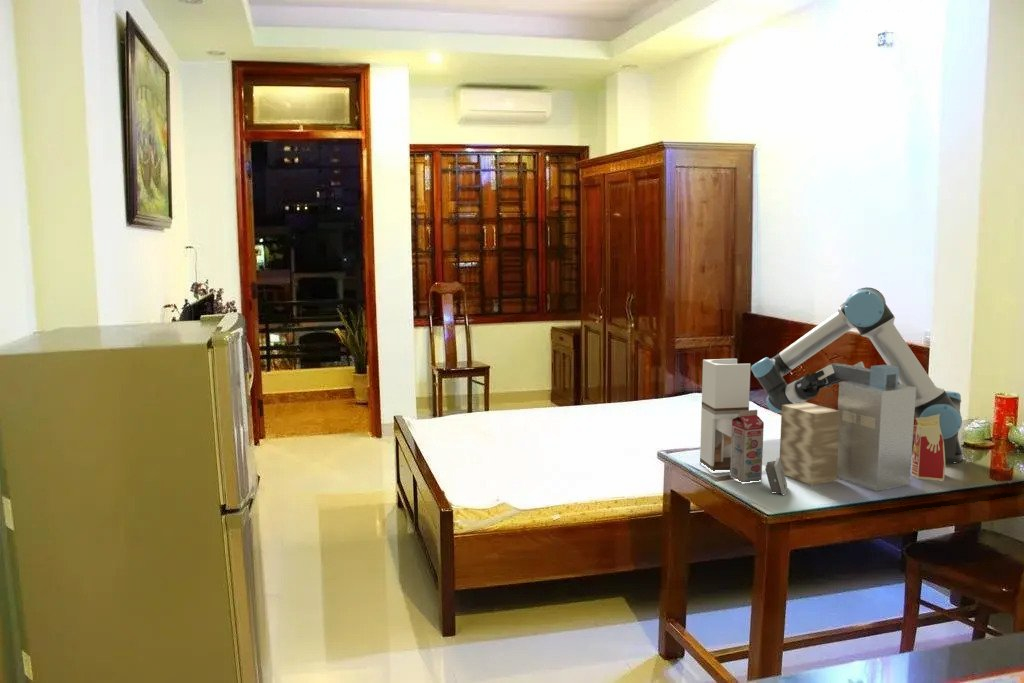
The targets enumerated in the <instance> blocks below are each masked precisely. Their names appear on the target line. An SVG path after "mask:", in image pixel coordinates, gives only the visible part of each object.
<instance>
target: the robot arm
mask: <svg viewBox="0 0 1024 683" xmlns="http://www.w3.org/2000/svg"><path fill="white" fill-rule="evenodd" d="M895 318H896V317H895V315H894V314H893V313H892V311H891V309H890V308H889V307H888V305H887V304H886V298H885V296H884V295H883V293H882V292H880V291H879V290H877V288H873V287H861V288H858V289H857V290H855V291H853V292H852V293H851V294H849V295H848V297H847V298H846V300H845V302H843V303H842V304H841V305H839V306H838V310H837V311H836V312H835V313H833V314H832V315H831V316H829V317H827V318H826V319H824V320H823V321H822V322H820V323H819V324H817V325H816V326H815V327H814V328H812V329H811V330H809V331H808V332H807V333H805V334H804V335H803V336H801V337H800V338H798V339H797V340H795V341H794V342H793V343H791V344H790V345H789V346H786V347H785V348H784V349H783V350H782V351H780V352H779V353H777V354H775V356H773V357H771V358H769V357H767V356H766V357H764V358H762V359H760V360H759V361H757V362H755V363H754V364H752V365H750V371H751V372H752V373H753V376H754V378H756V379H757V381H758V382H759V384H760V385H761V387H762V388H763V390H764V391H765V393H766V394H767V396H766V400H765V401H766V406H767V408H768V409H769V410H770V411H771V412H773V413H775V414H782V405H786V404H795V403H803V402H808V400H811V399H813V398H815V397H817V396H818V395H819V392H820V390H822V389H824V388H825V387H827V388H829V387H832V386H833V385H836V384H839V382H846V380H844V379H839V378H834V377H829V375H831V374H833V373H835V372H834V370H833V367H832V365H829V364H828V365H827V366H825V367H823V368H821V369H819V370H818V371H815V372H812V373H811V374H810V373H806V374H804V376H802V377H799V378H798V379H796V380H794V381H792V382H790V383H787V382H786V380H785V379H784V376H786V375H787V374H789V373H791V371H793V370H794V369H796V368H797V367H798V366H800V365H801V364H803V363H804V362H806V361H807V360H808V359H810V358H811V357H812V356H814V355H816V354H817V353H818V352H820V351H821V350H823V349H825V348H827V346H828V345H830V344H831V343H833V342H835V341H836V340H837V339H839V338H840V337H842V336H843V335H844V334H846V333H848V332H849V331H850V330H852V329H856V330H857V332H859V334H860V336H861V337H865V338H868V339H869V340H870V342H871V343H872V344H873V346H874V348H875V349H876V351H877V352H878V354H879V356H881V358H882V360H883V361H884V363H885V365H890V366H896V367H899V375H898V384H901V385H906V386H911V387H916V397H915V412H914V417H915V418H921V417H929V416H933V415H937V414H940V417H939V425H940V429H941V433H942V437H943V441H944V450H945V464H955V463H954V462H959V461H961V460H962V461H963V454H964V453H963V449H962V447H961V443H960V441H959V431H960V429H961V428H962V424H963V417H962V415H961V414H962V413H961V403H962V397H961V394H960V393H959V392H956V391H951V390H950V391H949V390H945V389H944V388H941V387H938V386H936V385H935V383H934V382H933V380H932V379H931V377H930V376H929V375H928V373H927V371H926V370H925V368H924V367H923V365H922V364H921V363H920V361H919V360H918V358H917V356H916V355H915V353H913V351H912V349H911V347H910V346H909V345H908V344H907V342H906V340H905V339H904V337H903V336H902V335H901V333H900V331H899V330H898V329H897V328H896V326H895ZM852 366H856V367H862V368H866V367H865V364H864V362H863V361H859V362H857V363H856V364H854V365H853V364H852ZM913 448H914V445H912V457H913ZM962 461H961V462H962ZM959 463H960V462H959Z"/></svg>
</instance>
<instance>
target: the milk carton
mask: <svg viewBox="0 0 1024 683" xmlns="http://www.w3.org/2000/svg"><path fill="white" fill-rule="evenodd" d="M939 417H940V414H937V415H933V416H929V417H921V418H916V417H914V420H916V423H917V426H916V429H915V436H914V439H913V446H914V448H913V447H912V448H913V456H912V457H911V472H910V476H912V477H914V478H915V479H917V480H928V479H929V481H937V480H943V481H942V482H945V473H946V463H945V450H944V441H943V437H942V433H941V429H940V425H939Z"/></svg>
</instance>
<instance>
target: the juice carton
mask: <svg viewBox="0 0 1024 683" xmlns="http://www.w3.org/2000/svg"><path fill="white" fill-rule="evenodd" d="M764 424H765V423H764V421H763V420H762V419H761V418H760V417H759V416H758V409H749V410H748V411H739V416H738V417H736V418H734V419H733V420H732V441H731V470H730V473H729V474H730V475H731V476H732V477H734V478H736V479H738V480H739V481H741V482H750V481H759V480H761V481H762V479H763V478H762V475H763V455H764V454H763V453H764V452H763V450H764V449H763V448H764Z"/></svg>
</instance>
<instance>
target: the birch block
mask: <svg viewBox="0 0 1024 683" xmlns="http://www.w3.org/2000/svg"><path fill="white" fill-rule="evenodd" d="M780 414H781V415H780V417H781V418H780V441H779V442H780V443H779V458H780V460H781V464H782V467H783V470H784V474H786V475H785V476H787V475H788V476H787V477H789V476H790V478H792V477H793V478H792V479H794V480H797V481H800V482H802V483H804V484H805V483H806V484H808V485H811V486H814V485H820V484H825V483H831V482H836V481H837V480H838V479H837V478H838V477H837V462H838V444H839V425H840V411H838V409H835V408H830V407H826V406H822V405H818V404H815V403H812V402H811V403H810V402H808V401H805V402H802V403H795V404H786V405H782V412H781V413H780Z"/></svg>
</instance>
